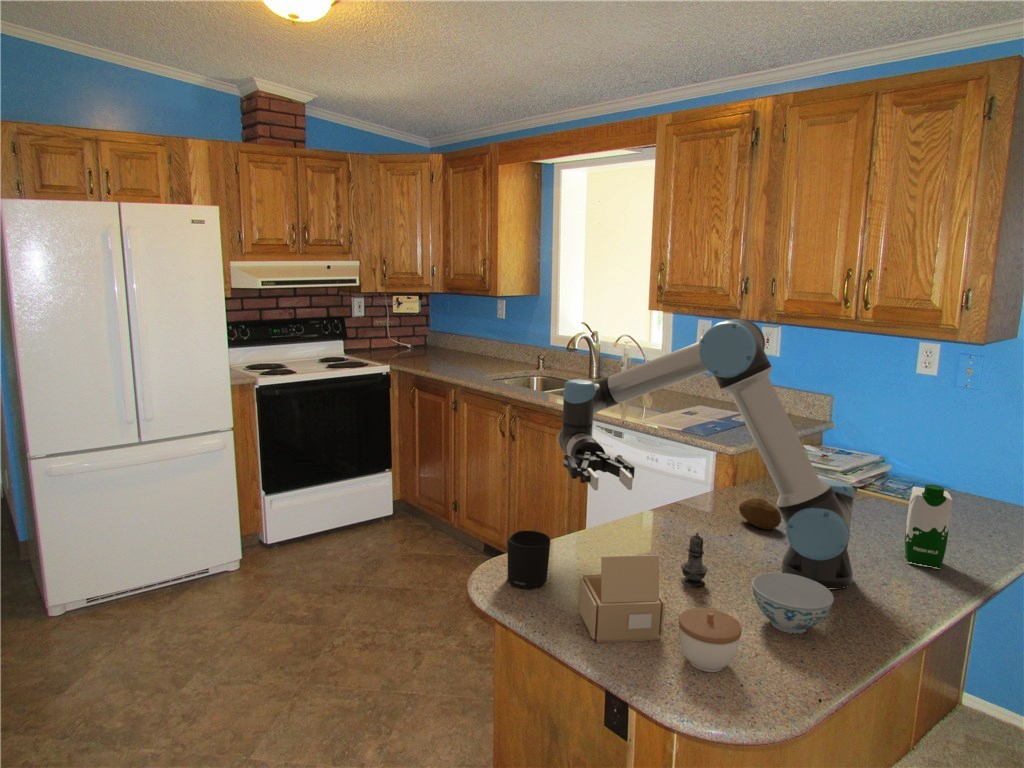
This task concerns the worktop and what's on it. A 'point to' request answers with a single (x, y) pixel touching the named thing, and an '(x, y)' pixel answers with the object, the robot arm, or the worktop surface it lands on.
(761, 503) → the potato
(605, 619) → the carton
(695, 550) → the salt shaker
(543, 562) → the pen holder
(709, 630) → the lidded jar
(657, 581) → the flap
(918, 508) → the milk carton
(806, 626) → the chinaware
